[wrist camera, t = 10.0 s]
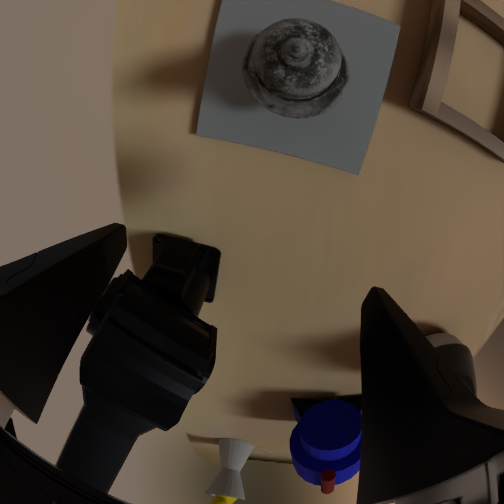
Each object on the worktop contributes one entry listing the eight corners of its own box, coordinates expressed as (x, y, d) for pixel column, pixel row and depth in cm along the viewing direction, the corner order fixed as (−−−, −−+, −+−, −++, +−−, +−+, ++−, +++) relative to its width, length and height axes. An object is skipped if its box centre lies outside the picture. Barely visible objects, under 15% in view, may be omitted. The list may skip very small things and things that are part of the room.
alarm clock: (296, 421, 44) (288, 495, 32) (288, 391, 38) (277, 486, 26) (363, 416, 41) (364, 492, 29) (371, 385, 35) (376, 481, 23)
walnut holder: (506, 164, 16) (522, 174, 14) (408, 106, 16) (421, 109, 14) (531, 60, 9) (548, 62, 7) (433, -14, 9) (447, -22, 7)
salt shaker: (234, 59, 16) (149, 33, 6) (309, 18, 13) (325, -65, 3) (282, 127, 18) (263, 189, 8) (356, 89, 16) (439, 103, 6)
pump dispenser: (424, 311, 26) (459, 440, 13) (475, 328, 26) (509, 430, 14) (374, 363, 32) (383, 475, 19) (427, 373, 32) (443, 467, 20)
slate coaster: (356, 171, 20) (358, 175, 19) (199, 133, 20) (196, 135, 19) (397, 27, 13) (400, 26, 12) (229, -13, 13) (226, -17, 12)
